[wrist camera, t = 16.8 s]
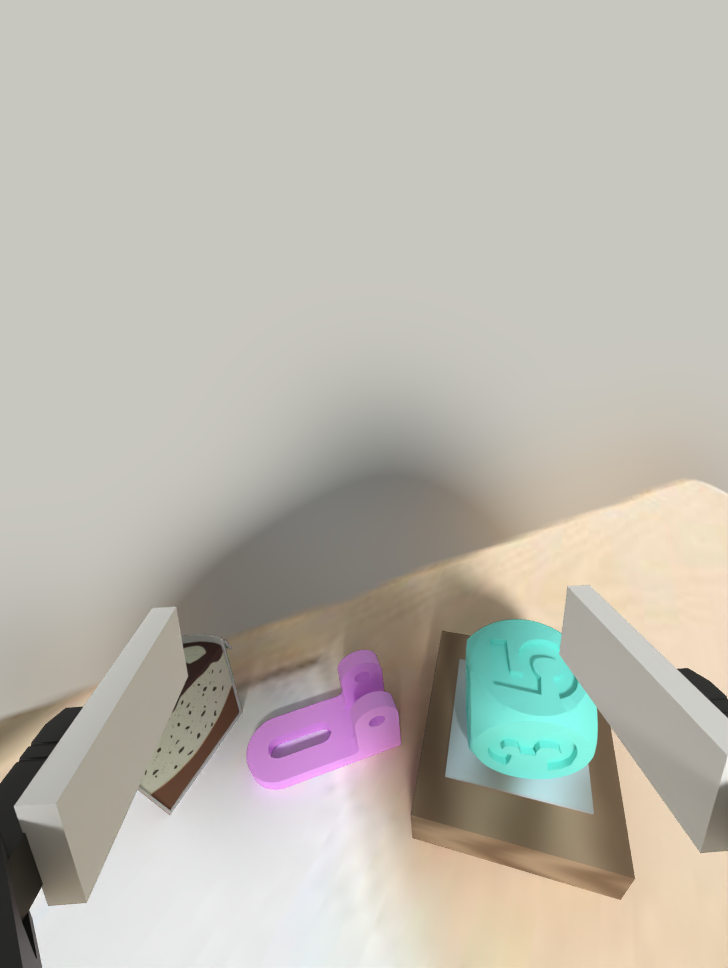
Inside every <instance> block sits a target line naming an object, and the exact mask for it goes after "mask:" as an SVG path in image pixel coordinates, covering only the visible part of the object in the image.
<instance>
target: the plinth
mask: <svg viewBox="0 0 728 968" xmlns="http://www.w3.org/2000/svg"><path fill="white" fill-rule="evenodd" d="M469 637H470V636H469V635H463V634H457V633H451V632H445V631H442V635H441V640H440V646H439V652H438V658H437V664H436V670H435V676H434V682H433V688H432V694H431V700H430V705H429V711H428V717H427V723H426V729H425V735H424V741H423V747H422V753H421V759H420V765H419V770H418V776H417V782H416V788H415V794H414V800H413V806H412V812H411V821H412V834H413V838H415V839H419V840H422V841H425V842H429V843H432V844H436V845H439V846H442V847H446V848H449V849H452V850H456V851H459V852H462V853H466V854H469V855H472V856H476V857H479V858H482V859H486V860H489V861H492V862H496V863H499V864H502V865H506V866H509V867H513V868H516V869H519V870H523V871H526V872H529V873H533V874H536V875H539V876H543V877H546V878H549V879H553V880H556V881H559V882H563V883H566V884H569V885H573V886H576V887H580V888H583V889H586V890H590V891H593V892H596V893H600V894H603V895H606V896H610V897H613V898H616V899H620V900H621V898H622V897H623V895H624V894H625V892H626V891H627V890H628V888H629V887H630V885H631V884H632V882H633V881H634V879H635V876H634V870H633V864H632V858H631V851H630V845H629V839H628V833H627V827H626V820H625V814H624V808H623V802H622V796H621V789H620V783H619V777H618V771H617V765H616V758H615V752H614V746H613V740H612V734H611V727H610V725H609V724H608V722H607V721H606V719H605V718H604V717H603V715H602V714H601V712H600V711H599V710H598V708H597V720H598V734H597V745H596V750H595V754H594V756H593V758H592V760H591V761H590V762H589V763H588V764H587V765H586V766H585V767H584V768H582V769H581V770H579V771H577V772H575V773H573V774H570V775H567V776H563V777H558V778H551V779H526V778H519V777H514V776H510V775H506V774H503V773H500V772H498V771H495V770H493V769H491V768H489V767H488V766H486V765H485V764H484V763H482V762H481V761H480V760H479V759H478V758H477V757H476V756H475V755H474V754H473V752H472V751H471V750H470V749H469V746H468V738H467V720H466V644H467V639H468V638H469Z"/></svg>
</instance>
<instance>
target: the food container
mask: <svg viewBox="0 0 728 968" xmlns="http://www.w3.org/2000/svg"><path fill="white" fill-rule="evenodd" d="M181 638H182V644H183V650H184V655H185V661H186V667H187V673H188V678H187V680H186V682H185V684H184V686H183V689H182V691H181V693H180V695H179V698H178V700H177V702H176V704H175V707H174V709H173V711H172V713H171V715H170V718H169V720H168V722H167V724H166V727H165V729H164V731H163V733H162V736H161V738H160V740H159V742H158V745H157V747H156V749H155V751H154V753H153V756H152V758H151V760H150V762H149V765H148V767H147V769H146V771H145V774H144V776H143V778H142V780H141V782H140V785H139V787H138V789H137V790H139V791H140V792H141V793H142V794H144V795H145V796H146V797H148V798H149V799H150V800H151V801H153V802H154V803H155V804H156V805H158V806H159V807H160V808H162V809H163V810H164V811H165V812H167V813H168V814H169V815H170V814H171V813H172V812H173V810H174V809H175V807H176V806H177V804H178V803H179V802H180V800H181V799H182V797H183V796H184V795H185V793H186V792H187V790H188V789H189V787H190V786H191V785H192V783H193V782H194V780H195V779H196V778H197V776H198V775H199V773H200V772H201V770H202V769H203V768H204V766H205V765H206V763H207V762H208V760H209V759H210V758H211V756H212V755H213V753H214V752H215V751H216V749H217V748H218V746H219V745H220V743H221V742H222V741H223V739H224V738H225V736H226V735H227V734H228V732H229V731H230V729H231V728H232V726H233V725H234V724H235V722H236V721H237V719H238V718H239V717H240V715H241V714H242V708H241V704H240V701H239V697H238V693H237V689H236V686H235V682H234V678H233V674H232V670H231V667H230V663H229V659H228V655H227V652H226V648H229V649H231V648H232V647H231V646H230V645H229V643H228V642H227V641H226V640H224V639H222V637H218V636H215V635H209V634H192V635H185V636H181Z"/></svg>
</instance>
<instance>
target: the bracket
mask: <svg viewBox="0 0 728 968" xmlns="http://www.w3.org/2000/svg"><path fill="white" fill-rule="evenodd" d="M338 674H339V679H340V683H341V688H342V693H341V694H340V695H339V696H336V697H333V698H330V699H327V700H324V701H321V702H319V703H316V704H313V705H310V706H307V707H304V708H301V709H298V710H295V711H292V712H289V713H286V714H283V715H280V716H277V717H274V718H272V719H270V720H268V721H266V722H265V723H263V724H262V725H261V726H260V727H259V728H258V729H257V730H256V731H255V733H254V734H253V736H252V737H251V739H250V742H249V744H248V748H247V763H248V766H249V769H250V771H251V773H252V775H253V777H254V779H255V780H256V781H257V782H258V783H259V784H260V785H261V786H263V787H265V788H268V789H275V790H276V789H283V788H286V787H289V786H292V785H294V784H297V783H300V782H302V781H305V780H308V779H311V778H313V777H316V776H319V775H321V774H324V773H327V772H329V771H332V770H335V769H337V768H340V767H343V766H345V765H348V764H351V763H354V762H356V761H359V760H362V759H364V758H367V757H370V756H372V755H375V754H378V753H380V752H383V751H386V750H388V749H391V748H394V747H396V746H399V745H401V737H400V725H399V714H398V710H397V708H396V705H395V703H394V700H393V698H392V695H391V694H390V693H388V692H385V691H384V685H383V676H382V669H381V667H380V664H379V661H378V659H377V656H376V654H375V653H374V652H372V651H369V650H359V651H355V652H353V653H350V654H349V655H347V656H346V657H344V658H343V659H342V660H341V662H340V663H339V665H338ZM322 729H325V730H328V731H330V732H331V734H330V737H329V738H328V739H327V740H326V741H325V742H323V743H320V744H317V745H315V746H312V747H309V748H306V749H304V750H301V751H298V752H295V753H292V754H290V755H287V756H284V757H281V758H273V757H271V754H272V751H273V749H274V748H275V747H276V746H277V745H279V744H282V743H285V742H288V741H290V740H293V739H296V738H299V737H302V736H305V735H307V734H310V733H313V732H316V731H319V730H322Z"/></svg>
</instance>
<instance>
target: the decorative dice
mask: <svg viewBox="0 0 728 968" xmlns="http://www.w3.org/2000/svg"><path fill="white" fill-rule="evenodd" d="M561 635H562V633H560V632H559V631H557V630H555V629H553V628H551V627H549V626H546V625H544V624H541V623H538V622H535V621H530V620H522V619H511V620H503V621H498V622H494V623H492V624H489V625H487V626H485V627H483V628H481V629H480V630H478V631H477V632H475V633H474V634H473V635H471V636H470V637H469V638H468V639H467V644H466V720H467V738H468V746H469V749H470V750H471V751H472V752H473V754H474V755H475V756H476V757H477V758H478V759H479V760H480V761H481V762H482V763H484V764H485V765H486V766H488V767H489V768H491V769H493V770H495V771H498V772H500V773H503V774H506V775H510V776H514V777H519V778H526V779H551V778H558V777H563V776H567V775H570V774H573V773H575V772H577V771H579V770H581V769H582V768H584V767H585V766H586V765H587V764H588V763H589V762H590V761H591V760H592V758H593V756H594V754H595V750H596V745H597V734H598V720H597V707H596V705H595V704H594V703H593V701H592V700H591V698H590V697H589V696H588V694H587V693H586V691H585V690H584V688H583V687H582V686H581V684H580V683H579V681H578V680H577V679H576V677H575V676H574V674H573V673H572V672H571V670H570V669H569V667H568V666H567V665H566V663H565V662H564V660H563V659H562V658H561V656H560V655H559V651H560V643H561Z"/></svg>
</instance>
